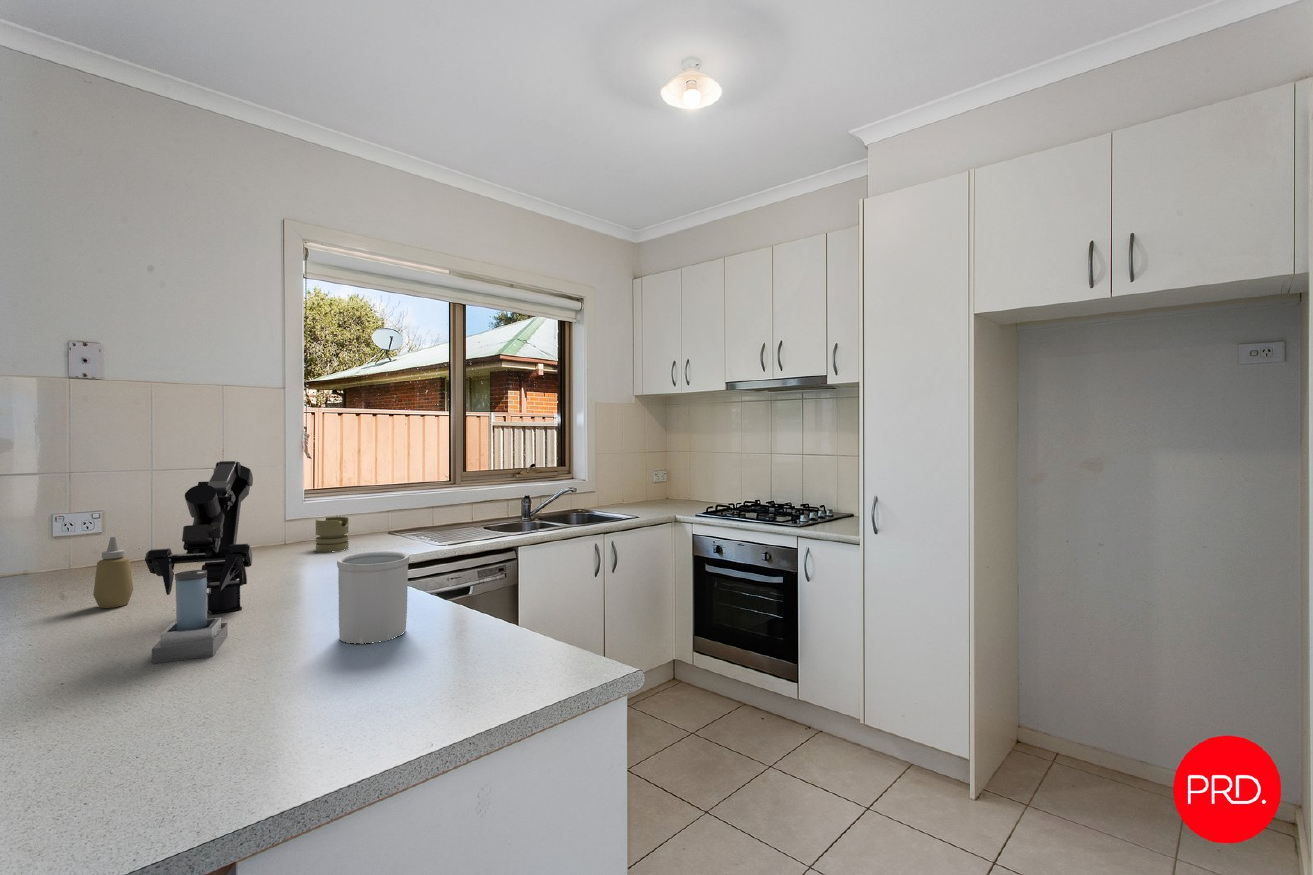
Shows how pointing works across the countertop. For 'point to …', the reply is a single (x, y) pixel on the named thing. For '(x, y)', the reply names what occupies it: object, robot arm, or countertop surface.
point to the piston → (332, 534)
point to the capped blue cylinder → (191, 600)
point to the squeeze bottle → (113, 577)
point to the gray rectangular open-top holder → (190, 642)
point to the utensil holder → (372, 596)
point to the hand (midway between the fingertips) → (194, 591)
